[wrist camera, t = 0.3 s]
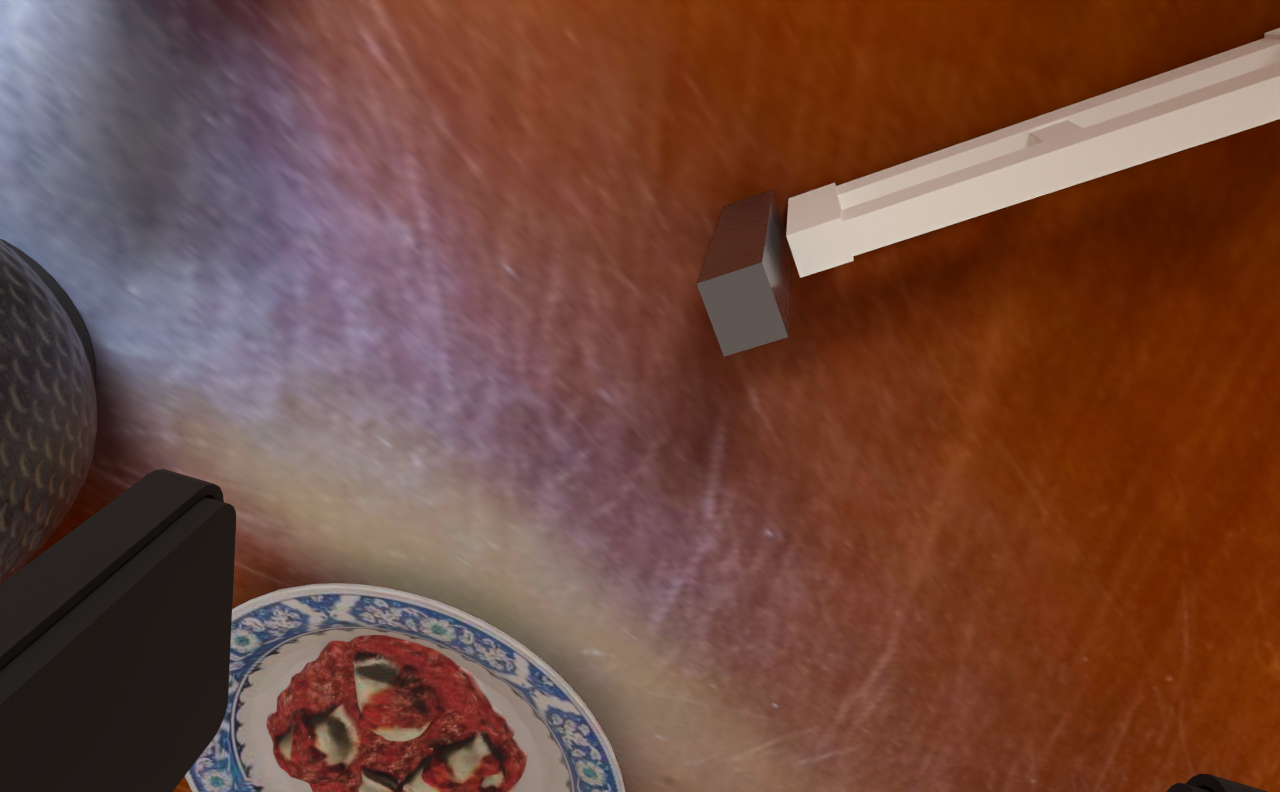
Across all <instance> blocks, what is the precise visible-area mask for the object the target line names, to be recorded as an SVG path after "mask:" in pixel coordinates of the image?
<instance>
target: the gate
mask: <svg viewBox="0 0 1280 792" xmlns="http://www.w3.org/2000/svg"><path fill="white" fill-rule="evenodd" d="M1264 36H1265V38H1263V39H1260V40H1257V41H1254V42H1251V43H1248V44H1246V45H1243V46H1240V47H1237V48H1234V49H1231V50H1228V51H1225V52H1222V53H1220V54H1217V55H1214V56H1211V57H1208V58H1205V59H1202V60H1199V61H1196V62H1194V63H1191V64H1188V65H1185V66H1182V67H1179V68H1176V69H1173V70H1170V71H1168V72H1165V73H1162V74H1159V75H1156V76H1153V77H1150V78H1147V79H1144V80H1142V81H1139V82H1136V83H1133V84H1130V85H1127V86H1124V87H1121V88H1118V89H1116V90H1113V91H1110V92H1107V93H1104V94H1101V95H1098V96H1095V97H1092V98H1090V99H1087V100H1084V101H1081V102H1078V103H1075V104H1072V105H1069V106H1066V107H1064V108H1061V109H1058V110H1055V111H1052V112H1049V113H1046V114H1043V115H1040V116H1038V117H1035V118H1032V119H1029V120H1026V121H1023V122H1020V123H1017V124H1014V125H1012V126H1009V127H1006V128H1003V129H1000V130H997V131H994V132H991V133H988V134H986V135H983V136H980V137H977V138H974V139H971V140H968V141H965V142H962V143H960V144H957V145H954V146H951V147H948V148H945V149H942V150H939V151H936V152H934V153H931V154H928V155H925V156H922V157H919V158H916V159H913V160H910V161H908V162H905V163H902V164H899V165H896V166H893V167H890V168H887V169H884V170H882V171H879V172H876V173H873V174H870V175H867V176H864V177H861V178H858V179H856V180H853V181H850V182H847V183H844V184H841V185H838V186H836V184H835V183H832V184H829V185H826V186H823V187H820V188H818V189H815V190H812V191H809V192H806V193H803V194H800V195H797V196H794V197H792V198H789V199H788V215H787V231H786V237H787V240H788V243H789V246H790V249H791V252H792V255H793V258H794V261H795V264H796V267H797V270H798V273H799V276H800V278H802V277H805V276H808V275H811V274H814V273H817V272H820V271H824V270H827V269H830V268H833V267H836V266H839V265H842V264H845V263H849V262H852V261H854V258H853V256H856V255H859V254H862V253H865V252H868V251H871V250H874V249H877V248H881V247H884V246H887V245H890V244H893V243H896V242H899V241H902V240H905V239H909V238H912V237H915V236H918V235H921V234H924V233H927V232H930V231H933V230H937V229H940V228H943V227H946V226H949V225H952V224H955V223H958V222H961V221H965V220H968V219H971V218H974V217H977V216H980V215H983V214H986V213H989V212H992V211H996V210H999V209H1002V208H1005V207H1008V206H1011V205H1014V204H1017V203H1020V202H1024V201H1027V200H1030V199H1033V198H1036V197H1039V196H1042V195H1045V194H1048V193H1052V192H1055V191H1058V190H1061V189H1064V188H1067V187H1070V186H1073V185H1076V184H1080V183H1083V182H1086V181H1089V180H1092V179H1095V178H1098V177H1101V176H1104V175H1107V174H1111V173H1114V172H1117V171H1120V170H1123V169H1126V168H1129V167H1132V166H1135V165H1139V164H1142V163H1145V162H1148V161H1151V160H1154V159H1157V158H1160V157H1163V156H1167V155H1170V154H1173V153H1176V152H1179V151H1182V150H1185V149H1188V148H1191V147H1195V146H1198V145H1201V144H1204V143H1207V142H1210V141H1213V140H1216V139H1219V138H1222V137H1226V136H1229V135H1232V134H1235V133H1238V132H1241V131H1244V130H1247V129H1250V128H1254V127H1257V126H1260V125H1263V124H1266V123H1269V122H1272V121H1275V120H1278V119H1280V28H1278V29H1275V30H1272V31H1269V32H1266V33H1264Z"/></svg>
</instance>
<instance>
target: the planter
mask: <svg viewBox="0 0 1280 792" xmlns="http://www.w3.org/2000/svg"><path fill="white" fill-rule="evenodd" d="M94 381H95V363H94V356H93V351H92V346H91V341H90V339H89V336H88V333H87V330H86V327H85V325H84V323H83V321H82V319H81V317H80V315H79V313H78V311H77V309H76V307H75V306H74V304H73V303H72V301H71V300H70V298H69V297H68V295H67V294H66V292H65V291H64V290H63V289H62V288H61V286H60V285H59V284H58V283H57V282H56V280H55V279H54V278H53V277H52V276H51V275H50V274H49V273H48V272H47V271H46V270H45V269H44V268H42V267H41V266H40V265H39V264H38V263H37V262H36V261H34V260H33V259H32V258H30V257H29V256H28V255H26V254H25V253H24V252H22V251H21V250H19V249H18V248H16V247H14V246H13V245H11V244H9V243H7V242H6V241H4V240H2V239H0V584H2V583H3V582H4V581H6V580H7V579H8V578H10V577H11V576H12V575H14V574H15V573H16V572H18V571H19V570H20V569H21V568H22V567H23V566H24V565H25V564H26V563H27V562H28V561H29V560H30V559H31V558H32V557H33V556H34V555H35V554H36V553H37V552H38V551H39V550H40V549H41V548H42V546H43V545H44V544H45V543H46V542H47V541H48V540H49V538H50V537H51V536H52V535H53V534H54V533H55V531H56V530H57V529H58V527H59V526H60V524H61V523H62V521H63V520H64V518H65V517H66V515H67V514H68V512H69V510H70V509H71V507H72V505H73V504H74V502H75V501H76V499H77V497H78V495H79V493H80V492H81V490H82V488H83V486H84V484H85V481H86V478H87V475H88V472H89V469H90V466H91V463H92V459H93V454H94V448H95V440H96V432H97V401H96V392H95V387H94Z"/></svg>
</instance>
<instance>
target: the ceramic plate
mask: <svg viewBox="0 0 1280 792" xmlns="http://www.w3.org/2000/svg"><path fill="white" fill-rule="evenodd" d="M185 778H186V780H187V782H188V784H189V786H190V788H191V790H192V792H625V787H624V782H623V778H622V774H621V770H620V767H619V765H618V762H617V759H616V757H615V754H614V751H613V749H612V746H611V743H610V742H609V740H608V738H607V737H606V735H605V733H604V732H603V730H602V728H601V727H600V725H599V723H598V722H597V720H596V718H595V716H594V715H593V714H592V712H591V711H590V710H589V708H588V707H587V706H586V704H585V703H584V702H583V700H582V699H581V698H580V697H579V695H578V694H577V693H576V692H575V691H574V690H573V689H572V688H571V687H570V686H569V684H568V683H567V682H566V681H565V680H564V679H563V678H562V677H561V676H560V675H559V674H558V673H556V672H555V671H554V670H553V669H552V668H551V667H550V666H549V665H548V664H547V663H546V662H544V661H543V660H542V659H541V658H539V657H538V656H537V655H535V654H534V653H533V652H532V651H530V650H529V649H528V648H527V647H525V646H524V645H522V644H521V643H519V642H518V641H516V640H515V639H513V638H512V637H510V636H509V635H507V634H506V633H504V632H502V631H500V630H499V629H497V628H495V627H493V626H492V625H490V624H488V623H486V622H484V621H483V620H481V619H479V618H476V617H474V616H472V615H470V614H468V613H466V612H464V611H461V610H459V609H457V608H454V607H452V606H449V605H446V604H444V603H441V602H438V601H436V600H433V599H429V598H426V597H422V596H419V595H416V594H412V593H409V592H404V591H399V590H394V589H390V588H385V587H378V586H370V585H362V584H343V583H329V584H311V585H305V586H298V587H292V588H286V589H280V590H277V591H274V592H271V593H268V594H265V595H262V596H260V597H257V598H254V599H251V600H249V601H247V602H245V603H243V604H241V605H239V606H237V607H235V608H233V609H232V623H231V646H230V668H229V691H228V705H227V710H226V713H225V717H224V719H223V722H222V724H221V726H220V728H219V730H218V732H217V734H216V735H215V737H214V738H213V740H212V741H211V743H210V744H209V745H208V747H207V748H206V749H205V750H204V752H203V753H202V754H201V756H200V757H199V758H198V759H197V761H196V762H195V763H194V765H193V766H192V767H191V768H190V770H189V771H188V772H187V774H186V775H185Z"/></svg>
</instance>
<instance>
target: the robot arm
mask: <svg viewBox="0 0 1280 792" xmlns="http://www.w3.org/2000/svg"><path fill="white" fill-rule="evenodd" d="M235 532H236V511H235V509H234V507H233V506H232V505H230V504H227V503H224V501H223V493H222V491H221V489H220V487H218V486H217V485H215V484H213V483H209V482H206V481H202V480H199V479H195V478H192V477H189V476H185V475H182V474H178V473H175V472H171V471H168V470H165V469H161V470H155V471H153V472H151V473H150V474H148V475H146V476H145V477H144V478H142V479H141V480H140V481H138V482H137V483H136V484H134V485H133V486H132V487H130V488H129V489H128V490H126V491H125V492H124V493H122V494H121V495H120V496H118V497H117V498H115V499H114V500H113V501H111V502H110V503H109V504H107V505H106V506H105V507H103V508H102V509H101V510H99V511H98V512H97V513H95V514H94V515H93V516H91V517H90V518H89V519H87V520H86V521H85V522H83V523H82V524H81V525H79V526H78V527H77V528H75V529H74V530H73V531H71V532H70V533H69V534H67V535H66V536H65V537H63V538H62V539H61V540H59V541H58V542H57V543H55V544H54V545H52V546H51V547H50V548H48V549H47V550H46V551H44V552H43V553H42V554H40V555H39V556H38V557H36V558H35V559H34V560H32V561H31V562H30V563H28V564H27V565H26V566H24V567H23V568H22V569H20V570H19V571H18V572H16V573H15V574H14V575H12V576H11V577H10V578H8V579H7V580H6V581H4V582H3V583H2V584H0V792H172V791H173V790H174V789H175V788H176V786H177V785H178V784H179V783H180V781H181V780H182V779H183V777H184V776H185V775H186V774H187V772H188V771H189V770H190V768H191V767H192V766H193V765H194V763H195V762H196V761H197V759H198V758H199V757H200V756H201V754H202V753H203V752H204V750H205V749H206V748H207V747H208V745H209V744H210V743H211V741H212V740H213V738H214V737H215V735H216V734H217V732H218V730H219V728H220V726H221V724H222V722H223V719H224V717H225V713H226V710H227V705H228V691H229V668H230V646H231V623H232V600H233V578H234V555H235ZM1167 792H1267V791H1264V790H1261V789H1257V788H1254V787H1251V786H1247V785H1244V784H1240V783H1237V782H1233V781H1230V780H1227V779H1223V778H1220V777H1216V776H1213V775H1209V774H1199V775H1196V776H1194V777H1192V778H1191V779H1190V780H1189V781H1188V782H1187V783H1186V784H1183V783H1177V784H1175V785H1173V786H1171V787H1170V788H1169V789H1168V790H1167Z"/></svg>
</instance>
